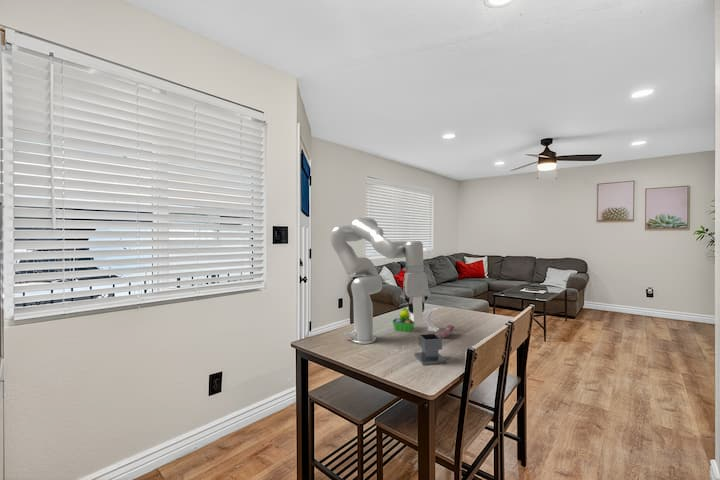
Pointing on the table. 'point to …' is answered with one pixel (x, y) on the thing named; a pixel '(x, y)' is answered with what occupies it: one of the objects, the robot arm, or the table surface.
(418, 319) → the rail post
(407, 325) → the fruit basket
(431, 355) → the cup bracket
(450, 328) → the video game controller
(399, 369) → the table surface
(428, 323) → the headphone stand
